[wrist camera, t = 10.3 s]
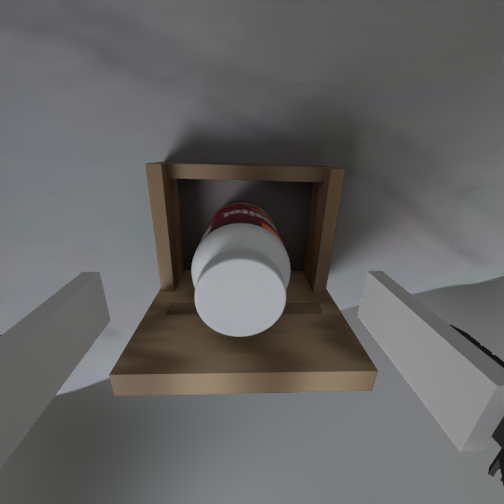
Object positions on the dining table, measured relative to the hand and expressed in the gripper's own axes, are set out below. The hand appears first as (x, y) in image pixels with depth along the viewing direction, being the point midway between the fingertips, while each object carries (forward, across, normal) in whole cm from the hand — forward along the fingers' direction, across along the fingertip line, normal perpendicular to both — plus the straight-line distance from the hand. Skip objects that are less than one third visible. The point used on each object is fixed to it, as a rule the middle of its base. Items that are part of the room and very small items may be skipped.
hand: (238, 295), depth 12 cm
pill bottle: (+11, 0, 0) cm, 11 cm away
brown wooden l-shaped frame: (+11, +1, 0) cm, 11 cm away
